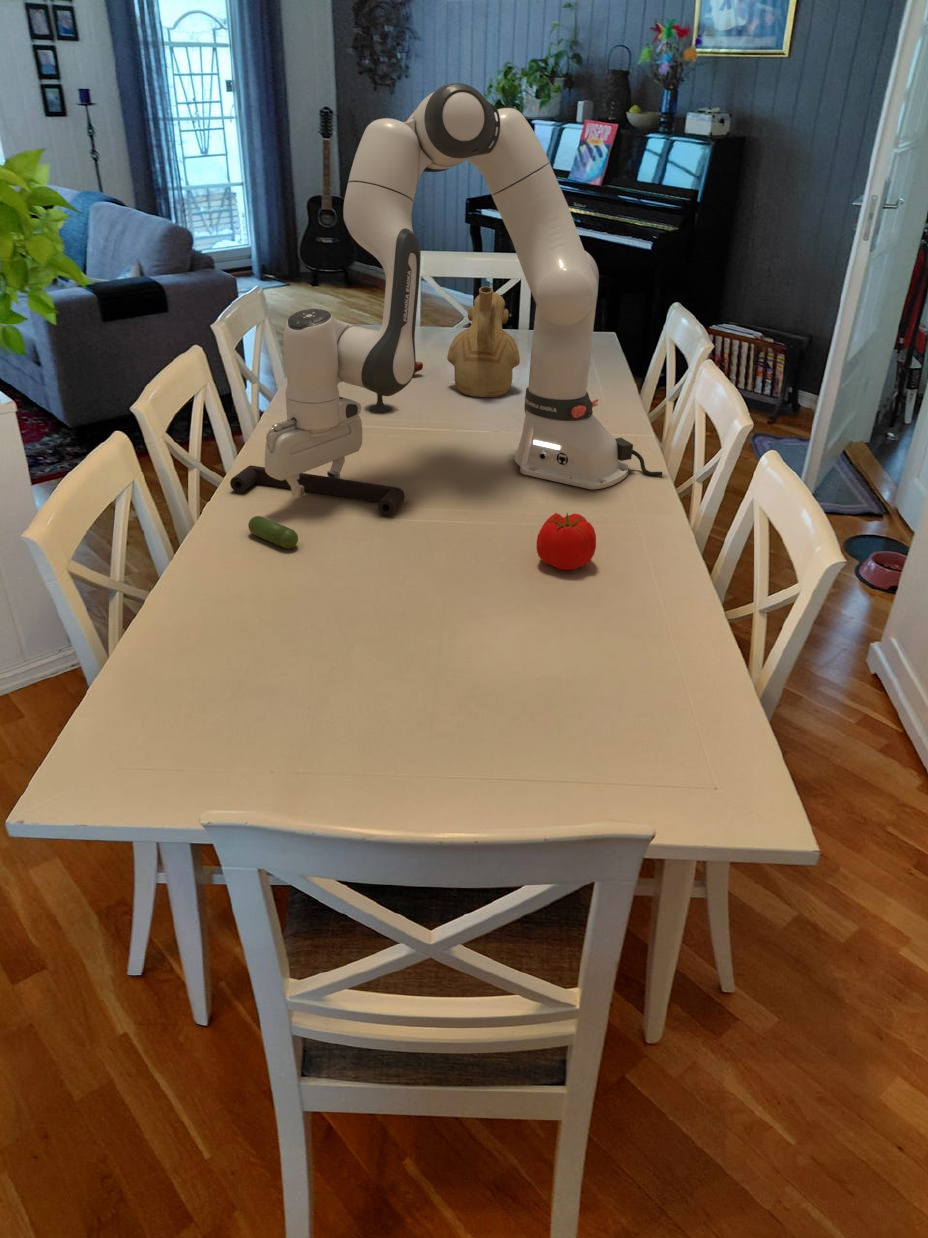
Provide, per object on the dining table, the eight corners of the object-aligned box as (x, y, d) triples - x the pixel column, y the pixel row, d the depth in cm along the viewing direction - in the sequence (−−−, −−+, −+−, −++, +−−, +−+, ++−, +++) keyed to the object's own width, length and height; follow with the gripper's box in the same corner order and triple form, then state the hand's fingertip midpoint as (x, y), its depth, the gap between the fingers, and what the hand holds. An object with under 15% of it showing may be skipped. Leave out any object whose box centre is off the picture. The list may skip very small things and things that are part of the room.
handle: (230, 491, 165) (229, 475, 163) (246, 479, 170) (245, 463, 169) (393, 517, 159) (393, 500, 157) (405, 503, 164) (405, 487, 162)
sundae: (394, 414, 204) (394, 345, 196) (363, 413, 204) (362, 343, 196) (396, 404, 209) (396, 337, 202) (366, 403, 209) (365, 335, 202)
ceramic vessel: (519, 380, 229) (527, 273, 216) (514, 405, 212) (522, 292, 199) (451, 375, 230) (454, 269, 217) (440, 400, 213) (444, 286, 200)
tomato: (578, 547, 152) (583, 505, 148) (601, 573, 145) (607, 529, 141) (524, 553, 149) (528, 510, 146) (545, 579, 142) (550, 535, 138)
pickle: (302, 547, 148) (301, 529, 146) (288, 554, 146) (286, 535, 144) (259, 528, 153) (258, 510, 151) (244, 535, 151) (243, 517, 149)
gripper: (279, 431, 148) (284, 511, 155) (367, 402, 162) (368, 476, 169) (253, 422, 151) (259, 500, 158) (341, 393, 165) (343, 467, 172)
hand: (316, 488), depth 164 cm, fingers closed on handle, 7 cm apart
